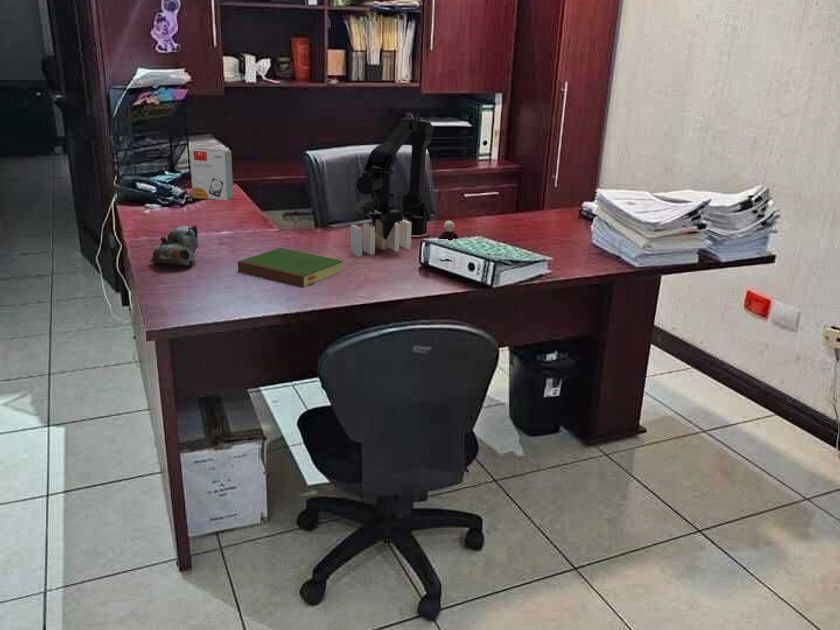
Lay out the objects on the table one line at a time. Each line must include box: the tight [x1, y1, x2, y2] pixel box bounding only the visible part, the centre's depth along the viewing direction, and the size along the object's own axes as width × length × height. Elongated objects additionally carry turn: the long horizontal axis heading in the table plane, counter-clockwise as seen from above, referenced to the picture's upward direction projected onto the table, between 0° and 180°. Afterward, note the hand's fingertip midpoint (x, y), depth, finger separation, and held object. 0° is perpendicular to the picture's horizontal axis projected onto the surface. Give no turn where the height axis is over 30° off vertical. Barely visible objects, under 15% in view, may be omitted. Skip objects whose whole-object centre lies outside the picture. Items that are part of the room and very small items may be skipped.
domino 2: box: [362, 223, 376, 255], centre depth 238 cm, size 2×5×9 cm, turn 30°
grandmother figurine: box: [437, 220, 460, 241], centre depth 232 cm, size 8×4×13 cm, turn 118°
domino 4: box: [387, 222, 400, 252], centre depth 243 cm, size 2×5×9 cm, turn 31°
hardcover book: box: [237, 247, 344, 288], centre depth 218 cm, size 25×19×4 cm
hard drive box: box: [189, 147, 234, 201], centre depth 307 cm, size 16×8×20 cm, turn 81°
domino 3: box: [375, 219, 388, 250], centre depth 240 cm, size 2×5×9 cm, turn 31°
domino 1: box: [350, 224, 363, 257], centre depth 236 cm, size 2×5×9 cm, turn 30°
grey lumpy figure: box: [149, 225, 200, 268], centre depth 220 cm, size 15×12×14 cm
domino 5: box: [399, 219, 412, 250], centre depth 245 cm, size 2×5×9 cm, turn 30°
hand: (381, 237), depth 240 cm, fingers closed on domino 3, 5 cm apart
